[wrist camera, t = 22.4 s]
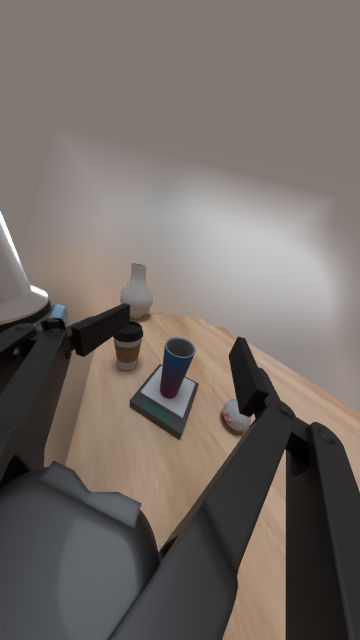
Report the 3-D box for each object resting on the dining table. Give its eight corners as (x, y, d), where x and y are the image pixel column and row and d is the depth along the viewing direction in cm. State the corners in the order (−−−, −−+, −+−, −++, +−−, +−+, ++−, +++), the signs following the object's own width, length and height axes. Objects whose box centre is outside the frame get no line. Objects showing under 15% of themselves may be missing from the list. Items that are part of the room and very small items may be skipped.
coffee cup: (109, 373, 39) (107, 332, 32) (118, 354, 46) (117, 317, 39) (138, 374, 40) (141, 336, 34) (142, 355, 48) (145, 321, 41)
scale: (129, 406, 32) (129, 398, 30) (158, 369, 44) (160, 362, 42) (179, 439, 28) (182, 432, 27) (196, 388, 40) (199, 382, 39)
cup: (155, 379, 36) (162, 337, 30) (177, 377, 38) (189, 337, 32) (158, 404, 30) (168, 358, 24) (184, 400, 33) (200, 356, 26)
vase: (120, 309, 77) (120, 259, 64) (147, 310, 84) (152, 265, 71) (120, 323, 64) (120, 264, 51) (153, 323, 71) (159, 270, 58)
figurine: (213, 410, 35) (224, 392, 32) (233, 405, 38) (245, 388, 34) (227, 440, 30) (242, 423, 26) (250, 432, 32) (265, 415, 29)
